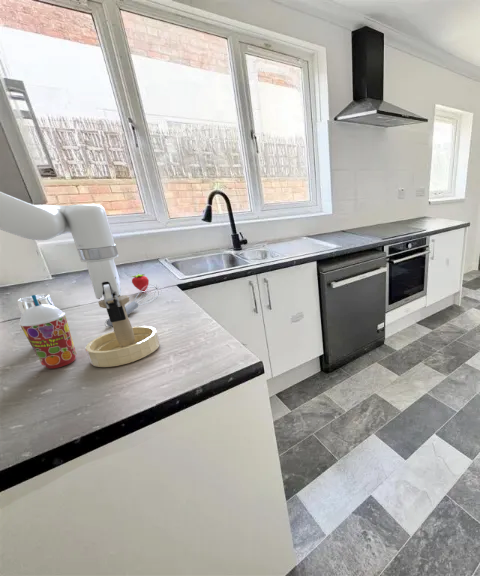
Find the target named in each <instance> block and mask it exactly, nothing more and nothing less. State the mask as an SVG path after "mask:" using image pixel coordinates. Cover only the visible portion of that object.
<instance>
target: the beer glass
mask: <svg viewBox="0 0 480 576" xmlns="http://www.w3.org/2000/svg"><path fill="white" fill-rule="evenodd" d="M34 295H35V296H36V298H37V301H38V303H39V304H47V305H52V306H55V304H54V302H53V300H52V298H51V296H50V294H48V293H39V294H34ZM16 303H17V305H18V308H19V311H20V314H21V315H22V314H23V313H24V311H26V310H27V309H28V308H30V307H32V306H35V303H34V301H33V298H32V295H28V296H24V297H21V298H18V299H16Z"/></svg>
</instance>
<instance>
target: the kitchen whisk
mask: <svg viewBox="0 0 480 576" xmlns="http://www.w3.org/2000/svg"><path fill="white" fill-rule="evenodd" d="M147 286H148V288H147V289H146V288H145V289H146V291H145V292H142V291H140V290H139V292H138V293H137V294H136V296H135V297H134V298H133V301H131V302H130V303H128V304H126V305H125V309H126V313H127V316H129V314H131V313H132V312H133V311H135V310H136V309H137V308H138V307H140V306H145V304H146V303H148V302H150V301H151V300H152V301H153V300H155V299H157V297H159V296H160V295H161V294H162V293H163V290H162V289H160V286H158V285H157V284H156V283H154V284H151V285H150V286H149V284H148V285H147ZM145 287H146V286H145ZM151 288H153V289H152V290H150V291H149V289H151ZM154 289H155V291H154ZM159 289H160V291H161V293H160V292H159ZM143 290H144V289H143ZM147 291H148V292H147ZM141 292H142V294H141V296H139V294H140V293H141ZM146 292H147V293H146ZM151 292H152V293H151ZM156 292H157V293H158V294H157V296H154V297H152V298H151V299H150V300H149V299H147V300H146V301H145V302H141V301H143V300H145V299H146V298H148V297H149V296H151V295H152V294H153V295H155V294H156ZM145 293H146V294H145ZM149 293H150V294H149ZM147 294H149V295H147ZM146 295H147V296H146ZM138 296H139V300H140V301H138V300H136V299H137V298H138ZM145 296H146V297H145ZM143 297H145V298H143ZM142 298H143V299H142ZM142 303H143V304H142ZM104 326H105V327H106V328H108V327H112V326H113V324H112V322H111V321H110V318H109V317H108V318H107V319H106V320H105V321H104Z"/></svg>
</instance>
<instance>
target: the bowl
mask: <svg viewBox="0 0 480 576" xmlns="http://www.w3.org/2000/svg"><path fill="white" fill-rule="evenodd" d="M132 329H133V332H134V338H135V341H134V342H135V344H134V345H131V346H128V347H124V348H121V346H120V344H119V342H118V340H117V338H116V336H115V333H114V330H113V331H110V332H108V333H104V334H102V335H100V336H98V337H96V338H94V339H93V340H90V341H89V342H88V343H87V344H86V346H85V348H84V349H85V352H86V354H87V357H88V360H89V362H90V364H91V365H92V366H93V367H98V368H111V367H118V366H124V365H127V364H130V363H134V362H136V361H139V360H141V359H144V358H145V357H147V356H149V355H151V354H152V353H154V352H155V351H156V350H158V348H159V347H160V345H161V344H160V339H159V335H158V331H157V329H156V328H155V327H153V326H148V325H137V326H132Z"/></svg>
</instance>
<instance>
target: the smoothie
mask: <svg viewBox="0 0 480 576" xmlns="http://www.w3.org/2000/svg"><path fill="white" fill-rule="evenodd" d="M35 295H36V294H31V296H32V298H33V301H34V303H35V306H32V307H30V308H28V309H27V310H26V311H24V313H23V314H21V316H20V319H19V322H18V325H19V326H20V328H21V329H22V332H23V333H24V335H25V337H26V339H27V341H28V342H29V344H30V346H31V347H32V350H33V351H34V353H35V355H36V356H37V359H38V360H39V362H40V364H41V366H44V367H46V369H59V368H62V367H66V366H67V365H70V364H72V363H73V362H74V361H75V360H76V356H77V351H76V348H75V344H74V341H73V340H74V339H73V337H72V333H71V330H70V327H69V324H68V320H67V317H66V312H65V311H62V310H61V309H60V308H58V307H57V306H56V305H54V306H52V305H47V304H39V303H38V301H37V298H36V296H35Z"/></svg>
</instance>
